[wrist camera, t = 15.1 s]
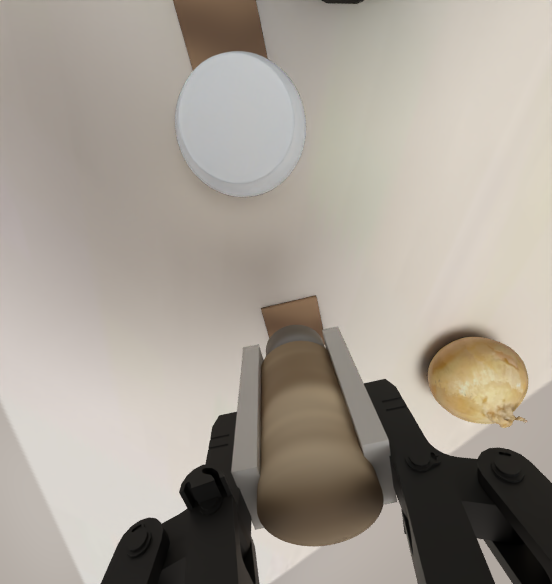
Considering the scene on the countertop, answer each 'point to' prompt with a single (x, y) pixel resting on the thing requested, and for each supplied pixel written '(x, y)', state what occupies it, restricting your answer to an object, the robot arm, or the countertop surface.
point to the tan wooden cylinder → (310, 448)
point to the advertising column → (342, 1)
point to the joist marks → (249, 38)
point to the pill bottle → (240, 124)
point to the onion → (479, 380)
